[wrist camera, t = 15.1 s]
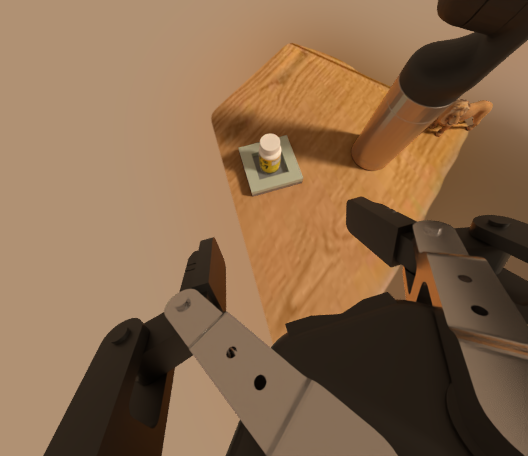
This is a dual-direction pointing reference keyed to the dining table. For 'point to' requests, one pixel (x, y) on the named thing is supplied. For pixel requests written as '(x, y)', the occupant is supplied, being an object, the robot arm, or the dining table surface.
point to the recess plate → (267, 183)
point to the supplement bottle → (269, 154)
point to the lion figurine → (462, 114)
